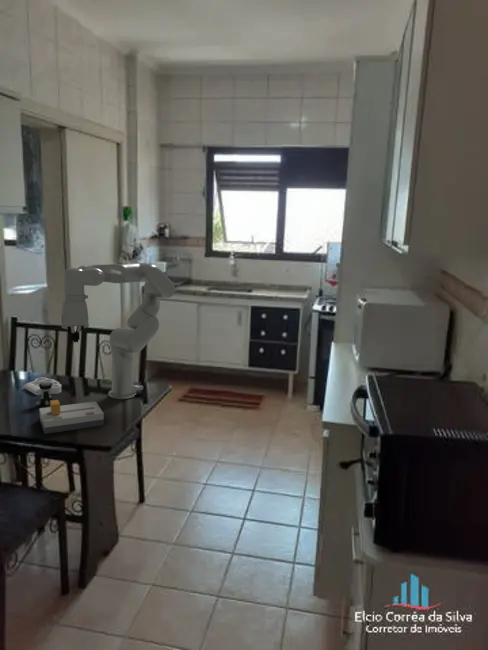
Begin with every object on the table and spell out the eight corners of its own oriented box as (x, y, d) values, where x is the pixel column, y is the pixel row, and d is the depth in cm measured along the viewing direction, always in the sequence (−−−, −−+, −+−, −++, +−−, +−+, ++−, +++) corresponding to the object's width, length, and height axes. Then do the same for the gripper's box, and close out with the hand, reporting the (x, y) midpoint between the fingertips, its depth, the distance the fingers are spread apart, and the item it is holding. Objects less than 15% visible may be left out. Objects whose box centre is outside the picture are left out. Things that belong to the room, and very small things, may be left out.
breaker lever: (58, 414, 200) (57, 399, 198) (60, 419, 195) (60, 404, 194) (50, 416, 198) (49, 400, 197) (52, 420, 194) (51, 405, 193)
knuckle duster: (20, 388, 236) (50, 381, 247) (38, 398, 225) (69, 391, 235) (20, 381, 236) (50, 375, 246) (38, 391, 224) (68, 384, 235)
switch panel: (94, 410, 213) (94, 399, 212) (103, 425, 200) (103, 412, 198) (39, 418, 203) (38, 405, 202) (44, 433, 189) (44, 421, 188)
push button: (37, 407, 213) (37, 385, 211) (35, 403, 218) (34, 381, 216) (54, 405, 217) (53, 383, 215) (50, 401, 221) (50, 379, 219)
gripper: (91, 296, 213) (91, 338, 217) (54, 297, 206) (55, 340, 210) (95, 299, 207) (95, 342, 211) (57, 300, 200) (58, 345, 203)
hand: (75, 341), depth 210 cm, fingers closed
